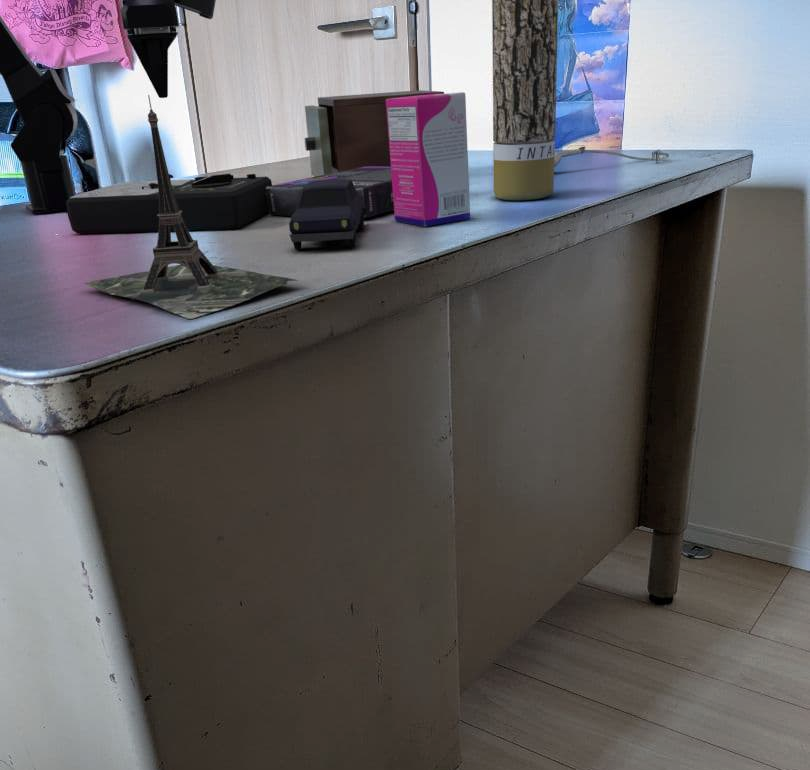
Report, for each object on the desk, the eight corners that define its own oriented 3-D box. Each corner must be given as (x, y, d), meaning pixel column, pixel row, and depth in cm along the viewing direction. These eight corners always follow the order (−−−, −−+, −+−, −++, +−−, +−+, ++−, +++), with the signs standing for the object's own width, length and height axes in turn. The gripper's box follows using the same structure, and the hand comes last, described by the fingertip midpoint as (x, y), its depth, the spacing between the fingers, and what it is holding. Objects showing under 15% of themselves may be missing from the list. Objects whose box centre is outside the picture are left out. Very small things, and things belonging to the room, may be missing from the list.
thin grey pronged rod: (659, 182, 124) (529, 180, 119) (660, 157, 124) (529, 153, 119) (680, 174, 119) (545, 171, 114) (681, 147, 118) (545, 143, 114)
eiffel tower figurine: (304, 288, 65) (281, 86, 58) (190, 319, 58) (150, 97, 52) (190, 267, 74) (160, 91, 67) (81, 292, 68) (36, 101, 61)
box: (371, 194, 111) (266, 216, 97) (369, 165, 110) (262, 182, 96) (463, 196, 104) (363, 219, 90) (463, 164, 102) (360, 183, 88)
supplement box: (438, 213, 92) (433, 92, 86) (471, 219, 87) (469, 91, 82) (392, 221, 89) (384, 96, 84) (424, 227, 85) (418, 96, 79)
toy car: (290, 254, 77) (282, 194, 74) (312, 226, 89) (306, 174, 87) (355, 251, 76) (350, 190, 74) (368, 223, 89) (364, 170, 86)
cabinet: (340, 189, 114) (333, 99, 109) (325, 179, 125) (317, 97, 120) (446, 179, 117) (444, 91, 112) (422, 170, 128) (419, 90, 123)
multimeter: (240, 229, 90) (233, 178, 87) (70, 235, 93) (58, 185, 91) (277, 209, 101) (271, 163, 99) (124, 215, 104) (115, 170, 102)
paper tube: (481, 199, 99) (477, -65, 87) (520, 191, 103) (522, -63, 91) (526, 203, 94) (529, -75, 82) (566, 194, 98) (574, -73, 86)
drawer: (315, 183, 114) (308, 109, 109) (303, 175, 123) (296, 106, 119) (423, 174, 116) (420, 101, 112) (402, 166, 126) (399, 98, 122)
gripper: (210, -64, 96) (232, 94, 103) (203, -44, 112) (222, 92, 119) (107, -60, 94) (137, 101, 101) (114, -40, 110) (140, 97, 117)
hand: (163, 97), depth 110 cm, fingers closed
